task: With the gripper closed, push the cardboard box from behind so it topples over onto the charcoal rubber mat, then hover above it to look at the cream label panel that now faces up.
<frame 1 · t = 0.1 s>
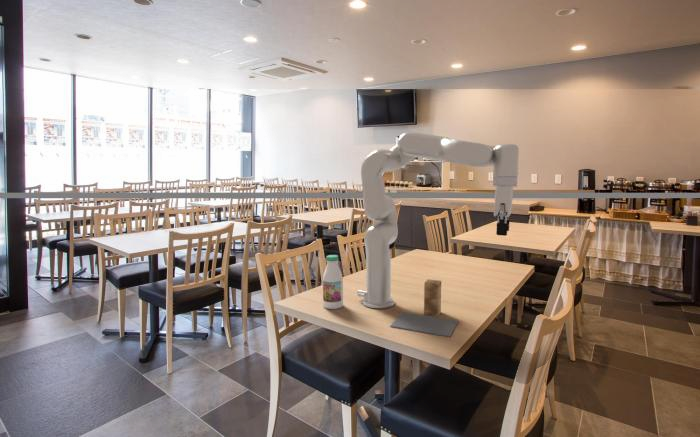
hand: (502, 232, 134), 31 cm above the table, fingers open, 9 cm apart
charcoal mat: (424, 324, 136), on the table
milk bottle: (333, 306, 154), on the table
cardboard box: (432, 313, 146), on the table
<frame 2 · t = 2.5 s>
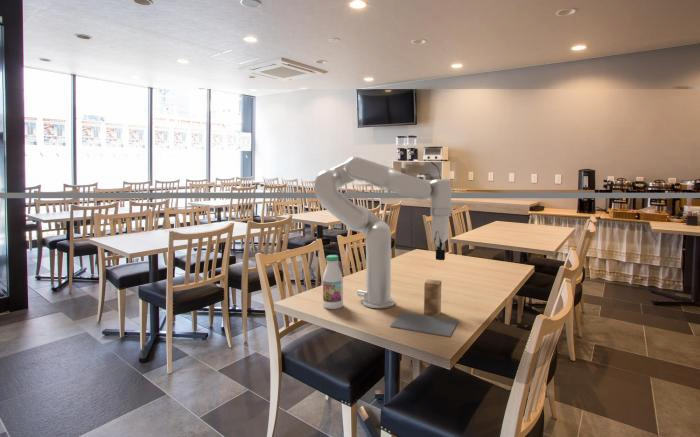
hand: (440, 259, 152), 18 cm above the table, fingers closed
nothing on the table moved.
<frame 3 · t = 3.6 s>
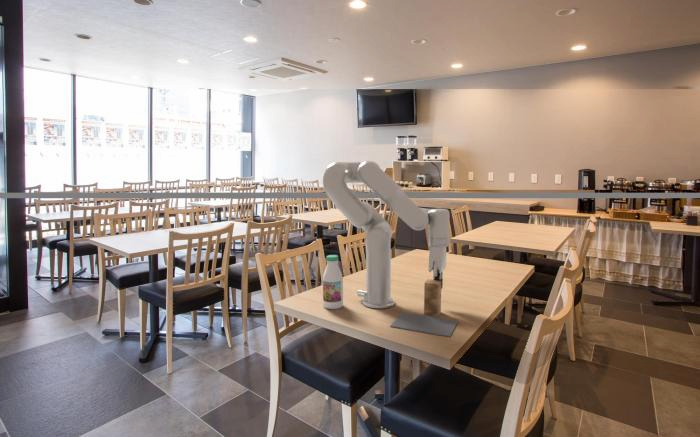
hand: (437, 288, 152), 7 cm above the table, fingers closed
nothing on the table moved.
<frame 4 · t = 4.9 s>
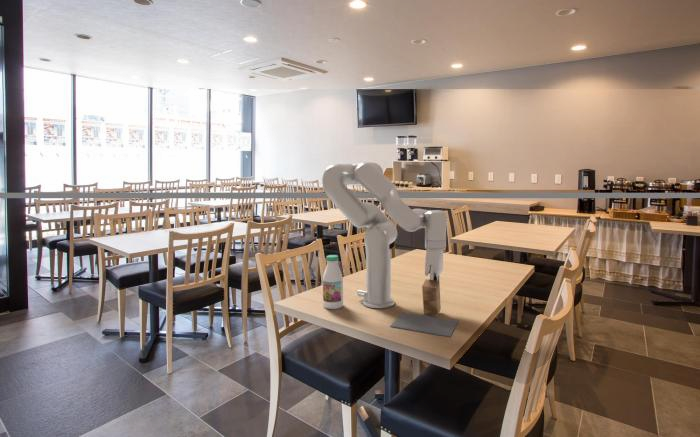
hand: (434, 292, 147), 7 cm above the table, fingers closed
cardboard box: (432, 311, 146), point 1 cm above the table, tilted 16°
everything else where it was.
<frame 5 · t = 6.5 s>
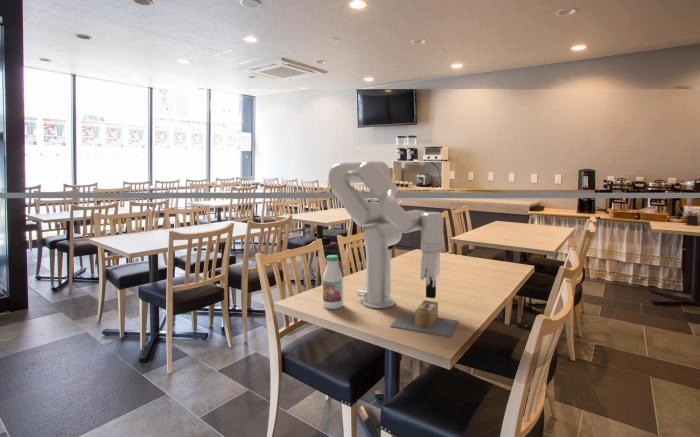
hand: (430, 297, 142), 7 cm above the table, fingers closed
cardboard box: (430, 307, 143), point 3 cm above the table, tilted 90°, touching charcoal mat
everything else where it was.
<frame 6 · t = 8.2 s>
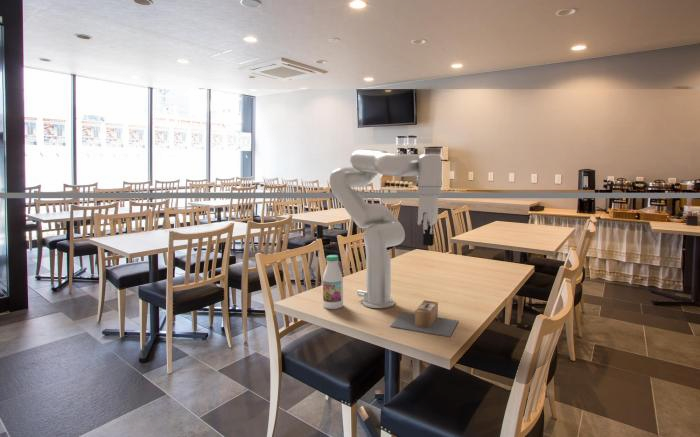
hand: (428, 245, 136), 27 cm above the table, fingers closed
nothing on the table moved.
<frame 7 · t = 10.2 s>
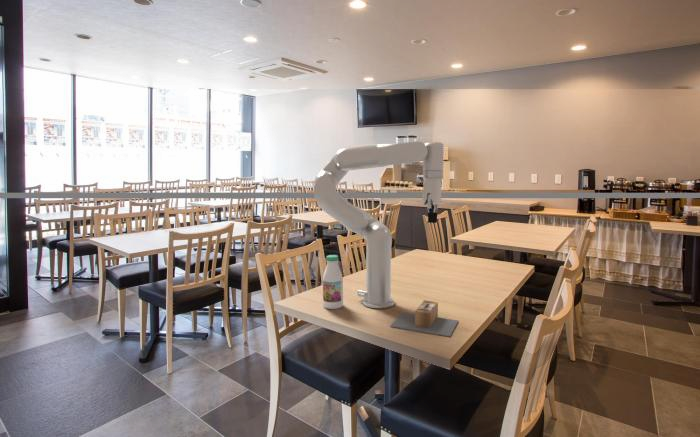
hand: (432, 222, 154), 32 cm above the table, fingers closed
nothing on the table moved.
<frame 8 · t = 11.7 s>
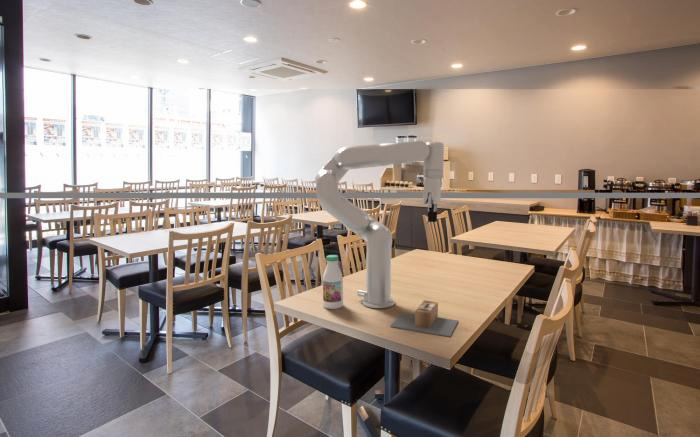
hand: (432, 221, 156), 32 cm above the table, fingers closed
nothing on the table moved.
at the end: cardboard box tilted 90°; cardboard box touching charcoal mat; cardboard box inside the target area (0.6 cm from its centre), point 2.9 cm above the table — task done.
